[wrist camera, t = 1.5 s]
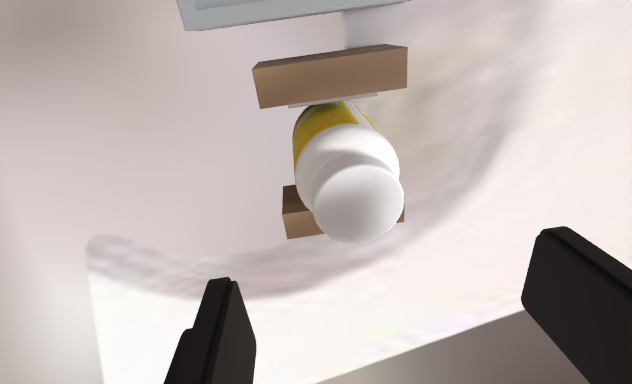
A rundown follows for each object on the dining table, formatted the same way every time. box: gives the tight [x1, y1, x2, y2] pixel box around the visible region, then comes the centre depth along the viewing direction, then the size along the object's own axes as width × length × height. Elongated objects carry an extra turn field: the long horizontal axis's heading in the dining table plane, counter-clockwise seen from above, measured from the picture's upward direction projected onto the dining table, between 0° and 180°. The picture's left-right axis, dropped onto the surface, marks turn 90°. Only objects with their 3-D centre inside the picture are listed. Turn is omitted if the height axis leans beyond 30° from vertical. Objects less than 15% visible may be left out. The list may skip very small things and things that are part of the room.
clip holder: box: [252, 44, 408, 239], centre depth 20 cm, size 11×8×4 cm
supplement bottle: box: [293, 100, 404, 244], centre depth 17 cm, size 5×5×10 cm
